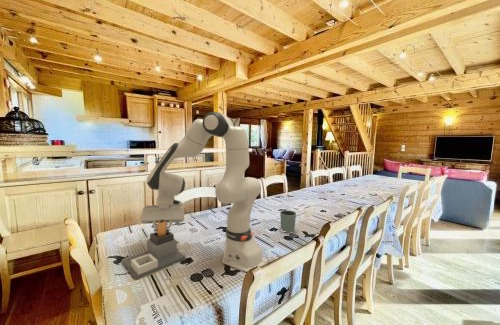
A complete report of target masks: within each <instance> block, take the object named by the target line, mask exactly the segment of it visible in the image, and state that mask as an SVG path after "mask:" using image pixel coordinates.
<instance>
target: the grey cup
mask: <svg viewBox="0 0 500 325" xmlns="http://www.w3.org/2000/svg"><path fill="white" fill-rule="evenodd" d="M296 218H297V213H296V211H293V210H288V209H286V210H280V230H281V229H282V230H283V231H286V232H293V231H294V232H295V229H296V227H295V226H296ZM294 232H293V233H294Z"/></svg>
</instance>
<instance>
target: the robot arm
mask: <svg viewBox="0 0 500 325" xmlns="http://www.w3.org/2000/svg"><path fill="white" fill-rule="evenodd" d="M213 136H214V137H217V138H222V139H223V140H224V143H225V159H226V160H225V171H224V174H223V176H222V178H221V180H220V182H219V183H218V184H217V185H216V186H215V187H216V188H215V191H214V192H215V193H214V194H215V197H216V199H217V201H218V202H219V203H221V204H225V205H227V204H230V205H232V204H233V205H232V206H231V208H229V210H228V212H227V218H226V222H227V223H226V224H227V225H226V229H225V237H226V239H225V243H224V251H223V254H222V260H221V263H222V264H225V265H227V266H228V267H231V268H234V269H236V270H238V271H241V272H243V271H245V272H244V273H246V272H247V271H248V270H249V269H251V268H253V267H256V266H261V265H264V264H266V263H267V264H268V259H267V258H266V257H265V256H263V250H262V248H261V246H260V245H259V244H258V242H256V240H255V239H254V238H253V235H254V234H255V232H252V231H251V227H250V226H251V225H250V224H251V214H252V213H251V212H252V210H253V205H254V203H255V201H256V199H257V197H258V196H259V195H260V194H261V192H262V191H261V190H262V185H261V184H262V183H261V182H260V180H258V179H257V178H256V177H250V176H246V177H244V175H245V172H246V170H247V169H248V168H249V166H250V152H249V151H250V149H249V139H248V135H247V131H246V129H245V128H243V127H242V126H239V125H238V126H237V125H235V122H234V121H233V120H232V119H231V118H230V117H228V116H227V115H225V114H223V113H221V112H218V111H209V112H207V113H206V114H205V115H204V116H203V119H202V118H196V119H195V120H193V122H192V123H191V125H190V126H189V128H188V129H187V131H186V133H185V135H184V136H183V137H182V139H181V140H180V141H179V142H174V143H173V144H172V145H171V146H170V147H169V148H168V149H167V151H166V152H165V153H164V155H163V156H162V157H161V159H160V160H159V161H158V163H157V164H156V165H155V167H154V168H153V169H152V170H151V172H150V173H149V174H148V176H147V178H146V184H147V186H148V187H149V188H150V189H151V190H154V191H155V190H156V191H157V197H156V203H155V204H154V205H153V204H151V205H149V204H147V205H145V206H143V208H142V211H141V212H142V213H141V216H140V222H141V223H142V224H144V225H145V224H147V225H148V224H152V226H153V233H155V232H157V222H158V221H160V220H162V219H163V220H164V221H166V224H167V223H169V224H168V225H166V231H169V232H170V228H171V227H172V226H173V223H183V222H184V221H185V212H184V206H183V202H182V201H180V200H176V199H175V197H176V196H179V195H181V193H183V192H184V191H185V187H186V181H185V178H184V177H183V176H180V175H177V174H175V173H171V172H166V170H167V168H168V167H169V165H171V163H172V162H173V160H175V159H178V158H193V157H196V156H199V155H200V154H201V153H202V152H203V151H204V149H205V147H206V145H207V143H208V141H209V139H210V138H211V137H213ZM267 264H266V265H267Z"/></svg>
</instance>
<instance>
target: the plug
mask: <svg viewBox="0 0 500 325" xmlns="http://www.w3.org/2000/svg"><path fill="white" fill-rule="evenodd" d="M166 226H167V223H166V221H164V220H163V219H162V220H160V221H158V222H157V223H156V227H157V231H156V232H157V237H158V238H160V237H163V236H166Z"/></svg>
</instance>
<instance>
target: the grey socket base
mask: <svg viewBox="0 0 500 325" xmlns="http://www.w3.org/2000/svg"><path fill="white" fill-rule="evenodd" d="M177 242H178V241H177V239H176V238H175V236H174V233H172V232H171V231H170V230H169V231H166V236H163V237H160V238H158V237H157V231H156V232H151V233H150V234H149V239H147V240H146V248H147V249H146V251H144V252H140V253H137V254H135V255H131V256H129V257H126V258H123V259H121V263H122V265H123V266H124V267H125V268H126V270H127V271H128V273H130V275H131V276H132V277H133V278H134V279H135V280H136V281H137V280H139V279H140V280H141V279H142V278H144V277H147V276H149V275H152V274H154V273H157V272H159V271H161V270H163V269H165V268H168V267H170V266H172V265H175V264H177V263H180V262H182V261H184V260H186V255H184V254H183V253H182V252H180V251H179V250H178V249H177Z"/></svg>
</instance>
